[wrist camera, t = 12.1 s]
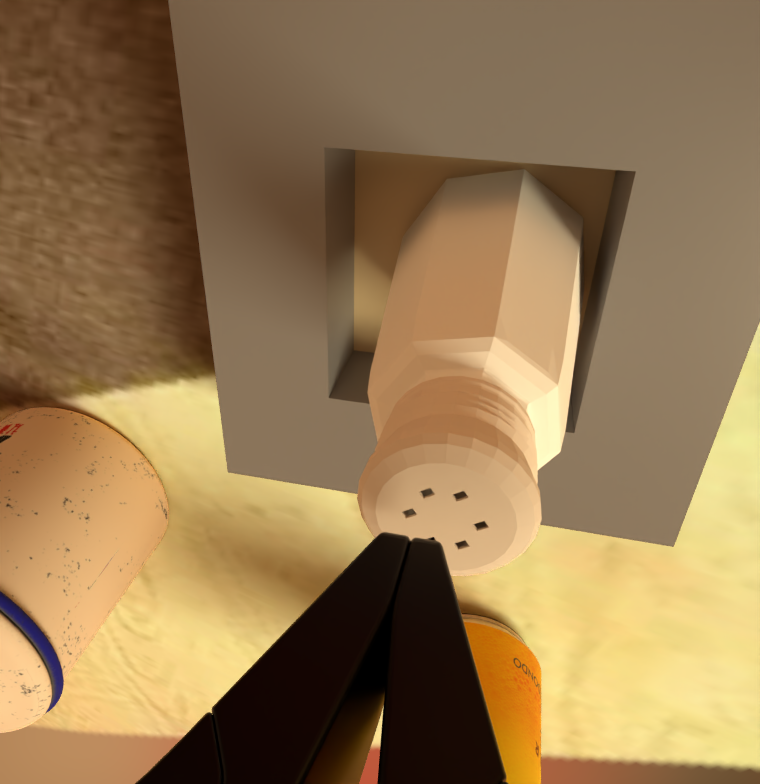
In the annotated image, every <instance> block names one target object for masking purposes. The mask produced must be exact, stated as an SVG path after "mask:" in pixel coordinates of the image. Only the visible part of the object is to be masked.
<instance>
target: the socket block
mask: <svg viewBox="0 0 760 784" xmlns="http://www.w3.org/2000/svg"><path fill="white" fill-rule="evenodd" d="M168 3H169V11H170V19H171V27H172V35H173V42H174V50H175V58H176V66H177V74H178V82H179V90H180V98H181V106H182V114H183V121H184V129H185V137H186V145H187V153H188V161H189V169H190V177H191V185H192V192H193V200H194V208H195V216H196V224H197V232H198V240H199V248H200V256H201V263H202V271H203V279H204V287H205V295H206V303H207V311H208V319H209V327H210V334H211V342H212V350H213V358H214V366H215V374H216V382H217V390H218V398H219V406H220V413H221V421H222V429H223V437H224V445H225V453H226V461H227V469H228V472H230V473H236V474H242V475H248V476H254V477H260V478H265V479H271V480H277V481H283V482H289V483H295V484H301V485H307V486H313V487H319V488H325V489H331V490H337V491H343V492H349V493H355V494H358V486H359V479H360V477H361V475H362V473H363V471H364V469H365V466H366V464H367V462H368V460H369V458H370V456H371V455H372V454H373V453H374V452H375V448H376V446H377V443H378V441H377V436H376V431H375V426H374V422H373V417H372V412H371V407H370V403H369V398H368V393H367V392H368V385H369V378H370V370H371V366H372V362H373V358H374V354H375V350H376V346H377V341H378V337H379V333H380V329H381V325H382V321H383V317H384V312H385V308H386V304H387V300H388V296H389V292H390V288H391V283H392V279H393V275H394V271H395V267H396V263H397V259H398V254H399V250H400V246H401V242H402V238H403V236H404V234H405V233H406V232H407V230H408V229H409V228H410V226H411V225H412V224H413V222H414V221H415V220H416V219H417V217H418V216H419V215H420V213H421V212H422V211H423V209H424V208H425V207H426V205H427V204H428V203H429V202H430V200H431V199H432V198H433V196H434V195H435V194H436V192H437V191H438V190H439V188H440V187H441V186H442V185H443V183H444V182H445V181H446V179H449V178H457V177H465V176H473V175H481V174H489V173H497V172H505V171H513V170H521V169H525V170H526V171H528V172H529V173H530V174H531V175H532V176H534V177H535V178H536V179H537V180H538V181H540V182H541V183H542V184H543V185H544V186H546V187H547V188H548V189H549V190H550V191H552V192H553V193H554V194H555V195H556V196H558V197H559V198H560V199H561V200H563V201H564V202H565V203H566V204H567V205H569V206H570V207H571V208H572V209H573V210H575V211H576V212H577V213H578V214H579V215H581V216H582V217H583V235H584V295H583V303H582V310H581V318H580V325H579V333H578V340H577V348H576V355H575V363H574V370H573V378H572V385H571V393H570V400H569V408H568V415H567V423H566V430H565V434H564V439H563V443H562V447H561V452H560V453H559V454H557V455H556V456H555V457H554V458H552V459H551V460H550V461H549V462H547V463H546V464H545V465H544V466H543V467H541V468H540V469H539V470H538V475H537V477H538V483H537V485H538V488H539V490H540V499H541V516H542V520H541V523H540V525H546V526H552V527H558V528H564V529H570V530H576V531H582V532H588V533H594V534H600V535H606V536H612V537H618V538H624V539H630V540H636V541H642V542H648V543H654V544H660V545H666V546H672V547H674V544H675V542H676V539H677V536H678V534H679V531H680V528H681V526H682V523H683V521H684V518H685V515H686V513H687V510H688V508H689V505H690V502H691V500H692V497H693V494H694V492H695V489H696V487H697V484H698V481H699V479H700V476H701V474H702V471H703V468H704V466H705V463H706V460H707V458H708V455H709V453H710V450H711V447H712V445H713V442H714V440H715V437H716V434H717V432H718V429H719V426H720V424H721V421H722V419H723V416H724V413H725V411H726V408H727V406H728V403H729V400H730V398H731V395H732V392H733V390H734V387H735V385H736V382H737V379H738V377H739V374H740V372H741V369H742V366H743V364H744V361H745V358H746V356H747V353H748V351H749V348H750V345H751V343H752V340H753V338H754V335H755V332H756V330H757V327H758V324H759V322H760V0H168Z"/></svg>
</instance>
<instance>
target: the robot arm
mask: <svg viewBox="0 0 760 784" xmlns="http://www.w3.org/2000/svg"><path fill="white" fill-rule="evenodd" d="M383 705H384V709H383ZM382 709H383V721H382V734H381V747H380V759H379V773H378V784H509V783H508V782H506V779H507V775H506V772H505V768H504V764H503V761H502V757H501V754H500V750H499V747H498V743H497V739H496V736H495V732H494V729H493V725H492V721H491V718H490V714H489V711H488V707H487V704H486V700H485V696H484V693H483V689H482V686H481V682H480V678H479V675H478V671H477V668H476V664H475V660H474V657H473V653H472V650H471V646H470V643H469V639H468V635H467V632H466V628H465V625H464V621H463V617H462V614H461V610H460V607H459V603H458V599H457V596H456V592H455V589H454V585H453V582H452V578H451V574H450V571H449V567H448V564H447V560H446V556H445V553H444V549H443V546H442V544H441V543H440V542H438V541H434V540H428V539H423V538H413V539H412V540H410V538H409V537H408V536H406V535H400V534H394V533H389V532H382V533H380V534H379V535H378V536H377V537H376V538H375V539H374V540H373V541H372V542H371V543H370V544H369V545H368V546H367V547H366V548H365V549H364V550H363V551H362V552H361V553H360V554H359V555H358V556H357V557H356V559H355V560H354V561H353V562H352V563H351V564H350V565H349V566H348V567H347V568H346V569H345V570H344V571H343V572H342V573H341V574H340V575H339V576H338V577H337V578H336V579H335V580H334V581H333V582H332V583H331V585H330V586H329V587H328V588H327V589H326V590H325V591H324V592H323V593H322V594H321V595H320V596H319V597H318V598H317V599H316V600H315V601H314V602H313V603H312V604H311V605H310V606H309V607H308V608H307V609H306V611H305V612H304V613H303V614H302V615H301V616H300V617H299V618H298V619H297V620H296V621H295V622H294V623H293V624H292V625H291V626H290V627H289V628H288V629H287V630H286V631H285V632H284V633H283V634H282V635H281V637H280V638H279V639H278V640H277V641H276V642H275V643H274V644H273V645H272V646H271V647H270V648H269V649H268V650H267V651H266V652H265V653H264V654H263V655H262V656H261V657H260V658H259V659H258V660H257V661H256V662H255V664H254V665H253V666H252V667H251V668H250V669H249V670H248V671H247V672H246V673H245V674H244V675H243V676H242V677H241V678H240V679H239V680H238V681H237V682H236V683H235V684H234V685H233V686H232V687H231V688H230V690H229V691H228V692H227V693H226V694H225V695H224V696H223V697H222V698H221V699H220V700H219V701H218V702H217V703H216V704H215V705H214V706H213V707H212V713H210V712H208V713H206V714H205V715H204V716H203V717H202V718H201V719H200V720H199V721H198V722H197V723H196V724H195V726H194V727H193V728H192V729H191V730H190V731H189V732H188V733H187V734H186V735H185V736H184V737H183V738H182V739H181V740H180V741H179V742H178V743H177V744H176V745H175V746H174V747H173V748H172V749H171V750H170V751H169V752H168V753H167V754H166V755H165V756H164V757H163V758H162V759H161V760H160V761H159V762H158V763H157V764H156V765H155V766H154V767H153V768H152V769H151V770H150V771H149V772H147V773H146V774H145V775H144V776H143V777H142V778H141V779H140V780H139V781H137V782H136V783H135V784H359V781H360V778H361V775H362V772H363V769H364V766H365V763H366V760H367V756H368V753H369V750H370V747H371V744H372V741H373V738H374V734H375V731H376V728H377V725H378V722H379V719H380V715H381V712H382ZM212 714H213V715H212Z"/></svg>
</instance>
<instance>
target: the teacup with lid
mask: <svg viewBox="0 0 760 784" xmlns="http://www.w3.org/2000/svg"><path fill="white" fill-rule="evenodd" d="M168 519H169V507H168V501H167V497H166V493H165V490H164V487H163V485H162V483H161V481H160V479H159V477H158V475H157V473H156V472H155V470H154V469H153V467H152V466H151V464H150V463H149V462H148V461H147V459H146V458H145V457H144V456H143V455H142V454H141V453H140V451H139V450H138V449H137V448H135V447H134V446H133V445H132V444H131V443H130V442H129V441H128V440H126V439H125V438H124V437H123V436H121V435H120V434H119V433H117V432H116V431H114V430H113V429H111V428H110V427H108V426H106V425H105V424H103V423H101V422H99V421H97V420H95V419H93V418H91V417H88V416H86V415H83V414H80V413H77V412H74V411H70V410H66V409H60V408H52V407H35V408H29V409H24V410H21V411H17V412H15V413H13V414H11V415H9V416H8V417H6V418H5V419H3V420H2V421H1V422H0V733H1V732H10V731H14V730H18V729H21V728H24V727H26V726H28V725H30V724H32V723H34V722H35V721H37V720H38V719H40V718H41V717H42V716H43V715H44V714H45V713H47V712H48V711H50V710H51V709H52V708H53V707H54V706H55V705H56V703H57V702H58V700H59V699H60V696H61V694H62V690H63V682H64V680H65V678H66V677H67V675H68V674H69V672H70V671H71V669H72V668H73V667H74V665H75V664H76V662H77V661H78V659H79V658H80V656H81V655H82V654H83V652H84V651H85V649H86V648H87V646H88V645H89V643H90V642H91V641H92V639H93V638H94V636H95V635H96V633H97V632H98V630H99V629H100V628H101V626H102V625H103V623H104V622H105V620H106V619H107V617H108V616H109V615H110V613H111V612H112V610H113V609H114V607H115V606H116V604H117V603H118V602H119V600H120V599H121V597H122V596H123V594H124V593H125V591H126V590H127V589H128V587H129V586H130V584H131V583H132V581H133V580H134V578H135V577H136V576H137V574H138V573H139V571H140V570H141V568H142V567H143V565H144V564H145V563H146V561H147V560H148V558H149V557H150V555H151V554H152V552H153V551H154V550H155V548H156V547H157V545H158V544H159V542H160V541H161V539H162V538H163V536H164V534H165V532H166V529H167V525H168Z"/></svg>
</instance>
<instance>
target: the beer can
mask: <svg viewBox="0 0 760 784" xmlns="http://www.w3.org/2000/svg"><path fill="white" fill-rule="evenodd" d="M462 617H463V621H464V625H465V628H466V632H467V635H468V639H469V643H470V646H471V650H472V653H473V657H474V660H475V664H476V668H477V671H478V675H479V678H480V682H481V686H482V689H483V693H484V696H485V700H486V704H487V707H488V711H489V714H490V718H491V721H492V725H493V729H494V732H495V736H496V739H497V743H498V747H499V750H500V754H501V757H502V761H503V764H504V768H505V772H506V775H507V779H506V782H508V783H509V784H541V668H540V665H539V662H538V660H537V658H536V657H535V655H534V654H533V652H532V651H531V650H530V649H529V648H528V647H527V646H526V645H525V643H524V641H523V640H522V639H521V638H520V637H519V635H518V634H516V633H515V632H514V631H513V630H512V629H510V628H509V627H507V626H505V625H504V624H502V623H500V622H498V621H495V620H492V619H490V618H486V617H482V616H478V615H470V614H462Z"/></svg>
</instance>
